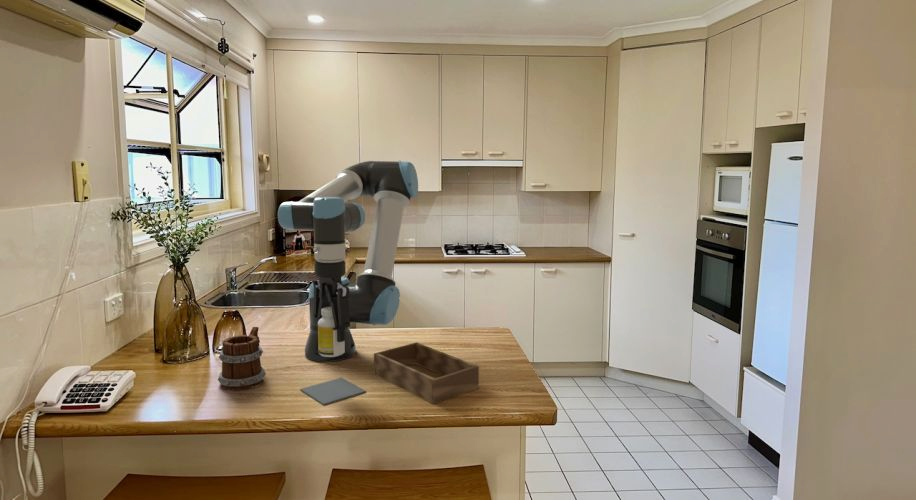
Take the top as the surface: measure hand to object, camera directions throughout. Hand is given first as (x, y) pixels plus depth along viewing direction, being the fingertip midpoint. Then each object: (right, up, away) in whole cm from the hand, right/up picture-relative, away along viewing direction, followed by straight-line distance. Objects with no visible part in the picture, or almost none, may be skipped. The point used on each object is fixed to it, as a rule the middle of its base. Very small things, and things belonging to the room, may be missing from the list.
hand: (331, 349), depth 139 cm
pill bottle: (0, -1, 0) cm, 1 cm away
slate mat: (0, -11, +2) cm, 11 cm away
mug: (-25, -10, +8) cm, 28 cm away
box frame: (+23, -10, +9) cm, 27 cm away
